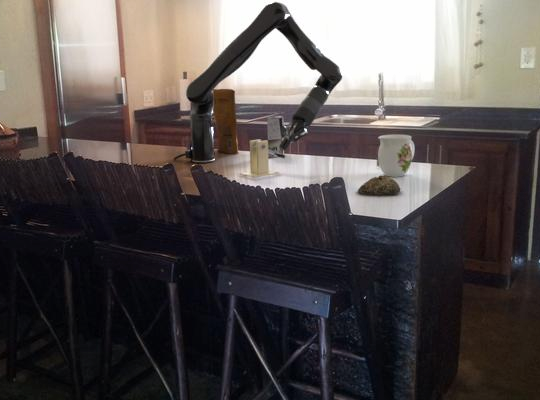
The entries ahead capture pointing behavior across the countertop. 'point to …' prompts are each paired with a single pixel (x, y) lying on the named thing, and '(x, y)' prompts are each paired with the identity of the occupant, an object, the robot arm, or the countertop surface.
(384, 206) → the countertop surface
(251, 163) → the bracket
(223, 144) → the pancake mix bag
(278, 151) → the coffee box
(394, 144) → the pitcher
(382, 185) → the mossy brown rock
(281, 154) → the lever
